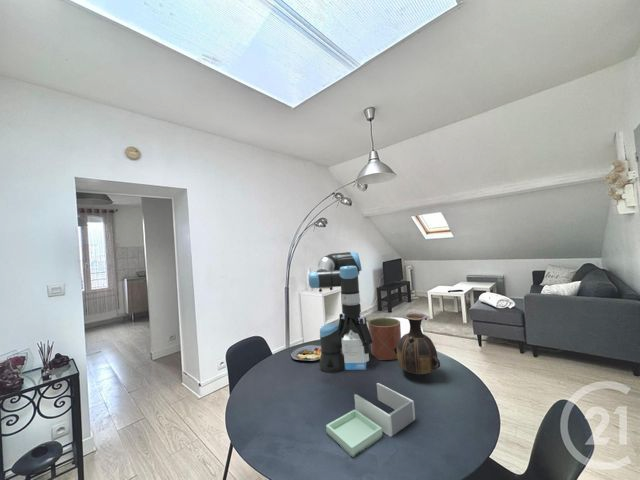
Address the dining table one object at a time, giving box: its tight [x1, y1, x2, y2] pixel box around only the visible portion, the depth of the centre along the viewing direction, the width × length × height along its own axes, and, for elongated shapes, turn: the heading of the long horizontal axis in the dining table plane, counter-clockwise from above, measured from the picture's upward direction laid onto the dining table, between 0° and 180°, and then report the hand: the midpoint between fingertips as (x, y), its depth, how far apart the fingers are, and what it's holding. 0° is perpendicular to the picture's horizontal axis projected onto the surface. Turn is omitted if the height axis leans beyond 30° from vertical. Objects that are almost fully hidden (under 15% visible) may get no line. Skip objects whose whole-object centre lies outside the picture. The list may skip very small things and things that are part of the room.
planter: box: [367, 317, 402, 361], centre depth 158 cm, size 19×19×20 cm
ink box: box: [343, 330, 367, 371], centre depth 106 cm, size 9×8×13 cm
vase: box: [394, 312, 441, 375], centre depth 132 cm, size 23×19×30 cm
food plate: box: [290, 344, 321, 362], centre depth 166 cm, size 25×23×4 cm
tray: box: [325, 409, 384, 458], centre depth 93 cm, size 14×14×3 cm
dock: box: [353, 382, 416, 438], centre depth 102 cm, size 18×14×7 cm
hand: (355, 357), depth 106 cm, fingers closed on ink box, 11 cm apart
